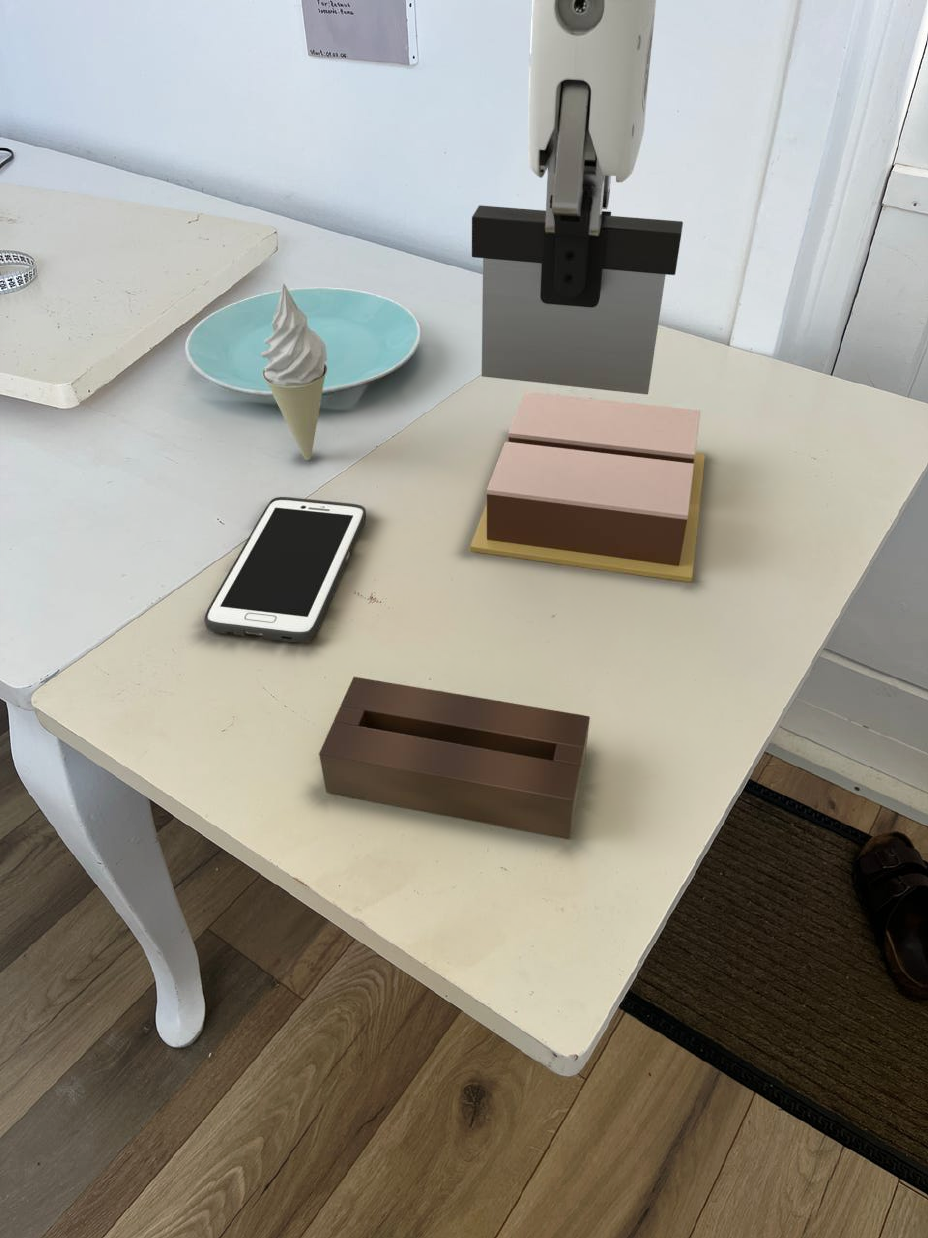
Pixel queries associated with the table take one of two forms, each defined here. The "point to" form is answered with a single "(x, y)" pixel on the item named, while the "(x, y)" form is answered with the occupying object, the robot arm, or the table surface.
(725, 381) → the table surface
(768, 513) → the table surface
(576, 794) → the brown slotted box
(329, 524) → the cell phone
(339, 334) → the plate
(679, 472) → the cake
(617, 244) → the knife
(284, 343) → the ice cream cone
